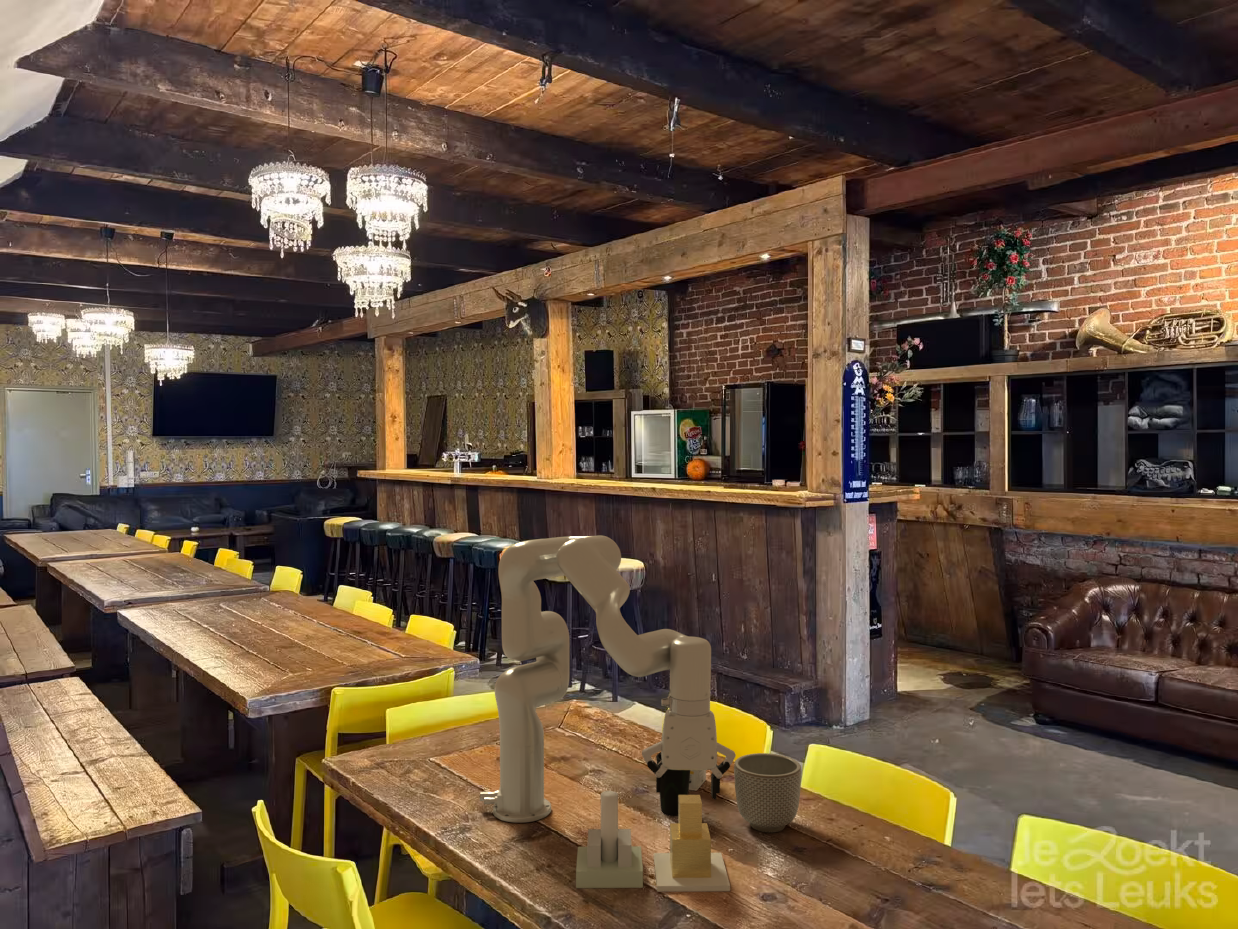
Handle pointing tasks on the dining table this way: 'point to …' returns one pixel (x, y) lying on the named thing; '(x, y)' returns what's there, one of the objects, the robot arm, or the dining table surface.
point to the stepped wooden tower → (690, 841)
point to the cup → (673, 788)
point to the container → (696, 779)
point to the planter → (767, 790)
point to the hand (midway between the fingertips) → (687, 796)
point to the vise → (609, 853)
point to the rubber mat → (690, 884)
